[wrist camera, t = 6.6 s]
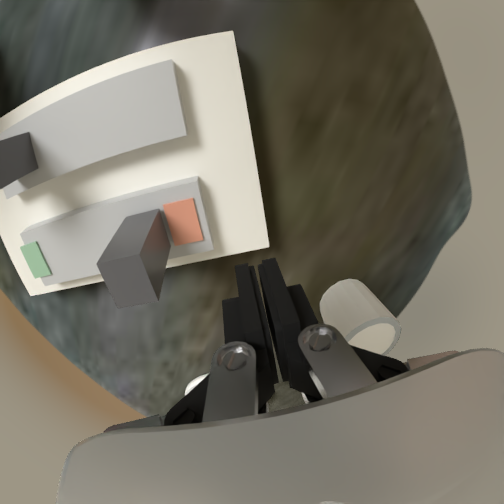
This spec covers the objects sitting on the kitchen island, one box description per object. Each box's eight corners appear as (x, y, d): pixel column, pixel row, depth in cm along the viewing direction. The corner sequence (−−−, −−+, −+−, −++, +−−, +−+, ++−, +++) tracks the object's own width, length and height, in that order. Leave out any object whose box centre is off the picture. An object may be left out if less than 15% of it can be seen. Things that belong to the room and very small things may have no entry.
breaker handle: (125, 216, 18) (96, 263, 13) (159, 208, 18) (139, 254, 13) (138, 253, 19) (117, 308, 14) (171, 246, 19) (158, 301, 14)
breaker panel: (-11, 133, 16) (-88, 164, 7) (230, 40, 17) (245, -10, 8) (42, 279, 24) (-3, 350, 15) (263, 230, 25) (293, 310, 16)
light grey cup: (352, 261, 28) (385, 304, 22) (381, 296, 31) (410, 337, 25) (301, 304, 30) (321, 354, 24) (335, 332, 33) (356, 377, 26)
